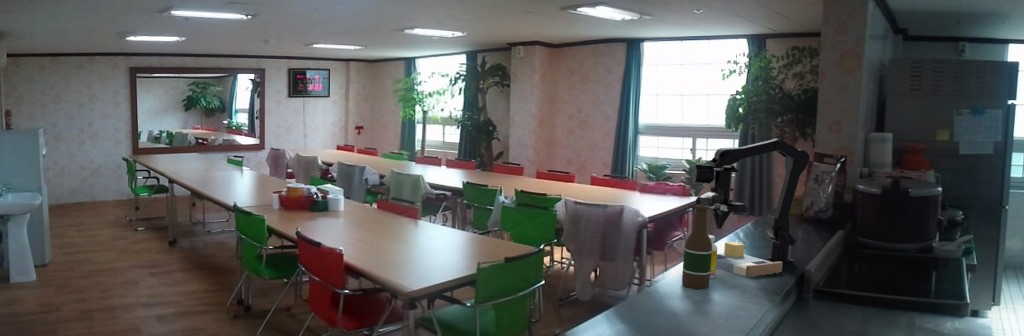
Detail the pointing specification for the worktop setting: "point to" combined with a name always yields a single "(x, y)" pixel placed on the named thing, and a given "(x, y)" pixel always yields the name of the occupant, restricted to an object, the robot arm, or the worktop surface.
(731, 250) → the block
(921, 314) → the worktop surface
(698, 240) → the beer bottle
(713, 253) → the supplement bottle
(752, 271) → the board
